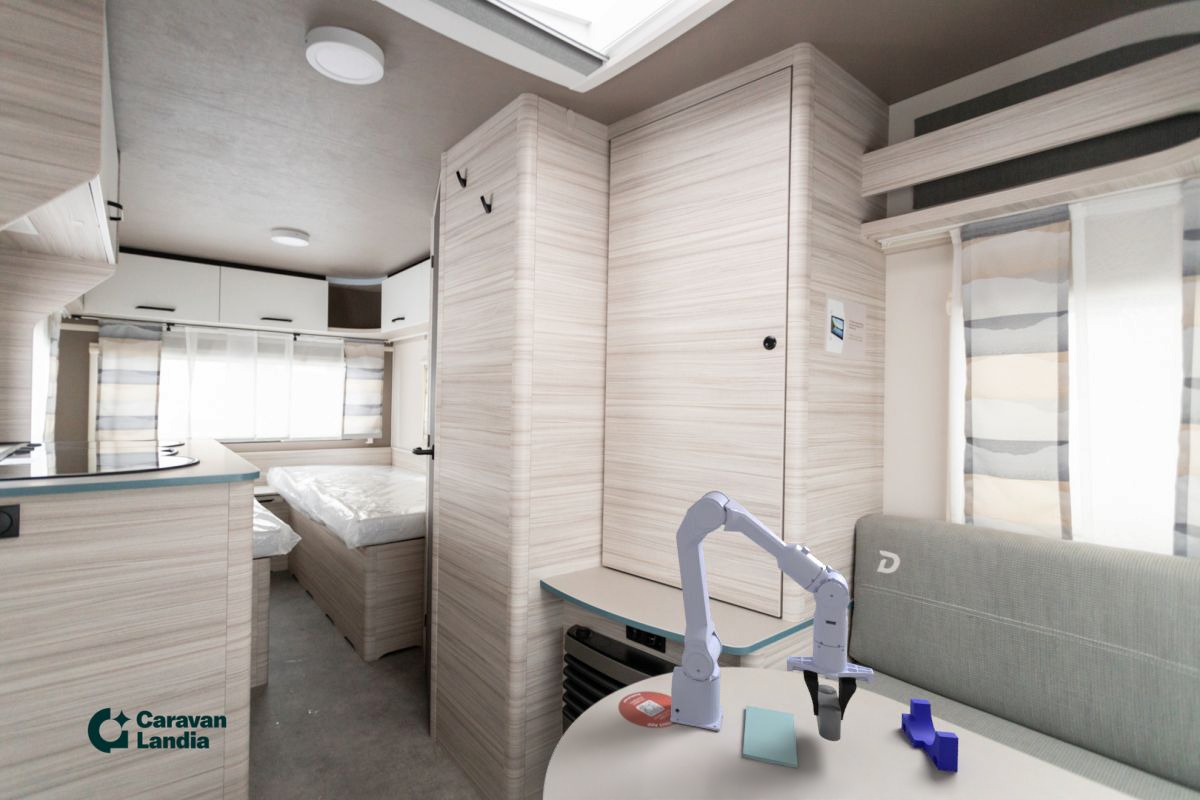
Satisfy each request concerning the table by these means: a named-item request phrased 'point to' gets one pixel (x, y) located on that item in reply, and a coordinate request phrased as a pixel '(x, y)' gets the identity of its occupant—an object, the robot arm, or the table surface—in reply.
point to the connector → (828, 713)
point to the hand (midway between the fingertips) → (827, 714)
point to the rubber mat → (770, 736)
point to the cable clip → (930, 736)
